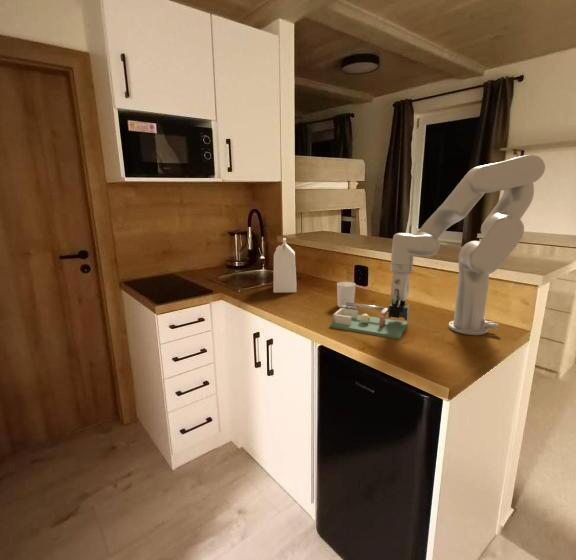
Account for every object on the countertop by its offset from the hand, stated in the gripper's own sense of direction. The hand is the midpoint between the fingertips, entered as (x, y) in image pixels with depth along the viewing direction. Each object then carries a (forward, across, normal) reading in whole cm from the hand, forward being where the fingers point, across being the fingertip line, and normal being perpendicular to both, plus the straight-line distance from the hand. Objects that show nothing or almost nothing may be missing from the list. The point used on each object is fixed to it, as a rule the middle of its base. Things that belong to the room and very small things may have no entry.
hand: (397, 313), depth 133 cm
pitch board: (+5, -5, +9) cm, 11 cm away
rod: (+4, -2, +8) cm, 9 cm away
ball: (+2, -6, +10) cm, 12 cm away
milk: (+6, +26, +61) cm, 67 cm away
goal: (+5, -6, +18) cm, 19 cm away
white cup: (+5, +13, +24) cm, 28 cm away
